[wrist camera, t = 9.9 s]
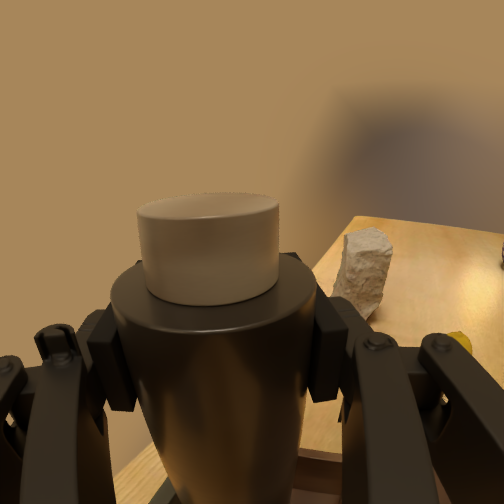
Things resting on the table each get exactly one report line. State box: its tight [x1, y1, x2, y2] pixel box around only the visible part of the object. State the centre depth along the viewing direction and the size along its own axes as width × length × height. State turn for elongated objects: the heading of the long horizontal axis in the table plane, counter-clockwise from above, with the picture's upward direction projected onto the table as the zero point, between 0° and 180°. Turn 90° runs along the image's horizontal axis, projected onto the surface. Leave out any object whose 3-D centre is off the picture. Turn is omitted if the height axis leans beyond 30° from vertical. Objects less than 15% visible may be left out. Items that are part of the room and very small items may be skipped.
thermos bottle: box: [110, 193, 317, 504], centre depth 10 cm, size 6×6×16 cm
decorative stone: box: [330, 227, 393, 321], centre depth 50 cm, size 10×9×15 cm
